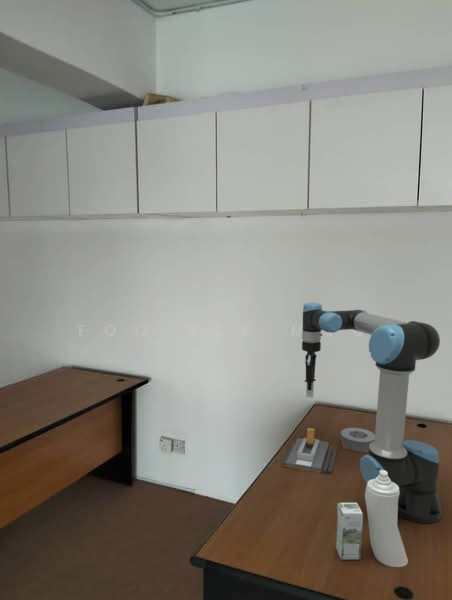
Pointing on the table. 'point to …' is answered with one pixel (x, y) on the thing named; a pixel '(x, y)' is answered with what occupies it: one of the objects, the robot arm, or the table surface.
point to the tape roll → (357, 438)
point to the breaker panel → (317, 459)
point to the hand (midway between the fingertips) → (309, 396)
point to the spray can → (384, 520)
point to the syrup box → (349, 531)
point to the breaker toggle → (310, 438)
